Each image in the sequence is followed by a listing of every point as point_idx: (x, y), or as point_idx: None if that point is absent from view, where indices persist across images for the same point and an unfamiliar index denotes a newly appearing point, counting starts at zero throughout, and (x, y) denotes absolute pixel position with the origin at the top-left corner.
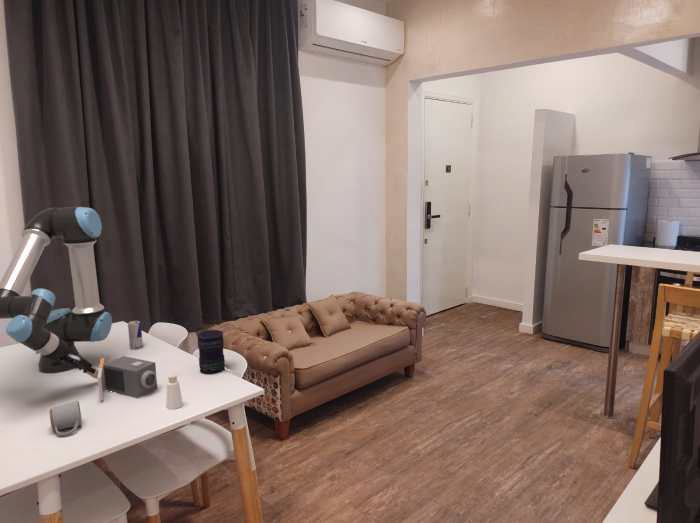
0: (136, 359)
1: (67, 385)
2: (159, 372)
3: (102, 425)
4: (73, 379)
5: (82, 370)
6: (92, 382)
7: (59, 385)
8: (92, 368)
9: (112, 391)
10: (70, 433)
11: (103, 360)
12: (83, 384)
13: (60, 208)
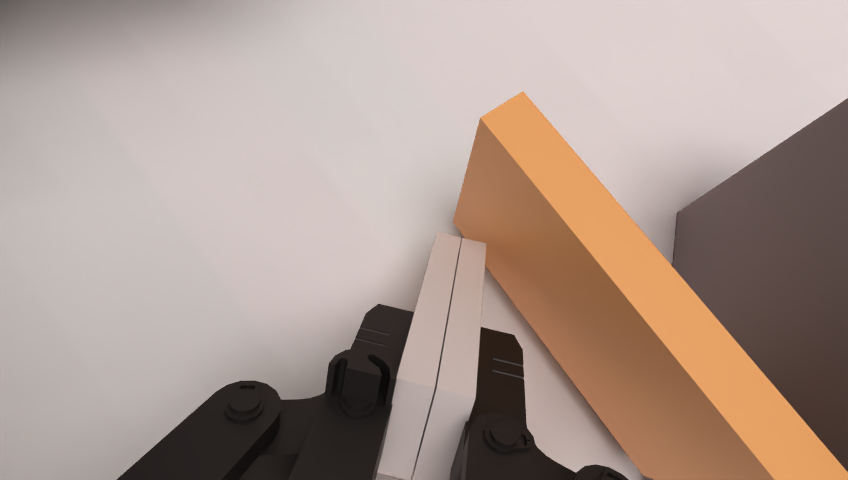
0: None
1: (160, 417)
2: (817, 14)
3: None
4: (132, 269)
5: (379, 467)
6: (379, 299)
7: (68, 434)
8: (523, 396)
9: None
10: None
11: (594, 182)
12: (319, 360)
13: None
